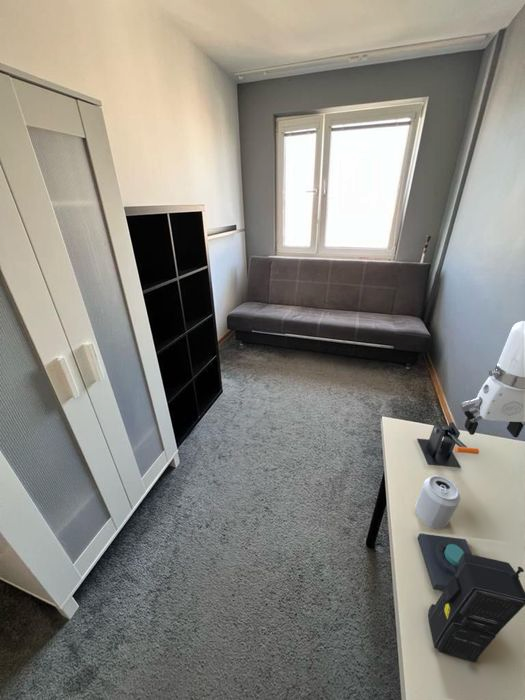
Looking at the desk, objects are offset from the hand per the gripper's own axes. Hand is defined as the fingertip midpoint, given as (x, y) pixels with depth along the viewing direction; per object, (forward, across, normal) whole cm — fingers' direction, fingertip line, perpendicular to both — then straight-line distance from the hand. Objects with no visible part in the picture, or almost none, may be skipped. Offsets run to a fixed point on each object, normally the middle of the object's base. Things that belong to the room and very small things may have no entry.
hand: (490, 431), depth 70 cm
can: (+19, -14, -12) cm, 26 cm away
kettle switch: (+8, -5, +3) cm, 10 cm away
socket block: (+19, -14, -23) cm, 33 cm away
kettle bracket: (+19, -5, +9) cm, 21 cm away
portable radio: (+19, -19, -35) cm, 44 cm away
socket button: (+15, -14, -23) cm, 31 cm away
